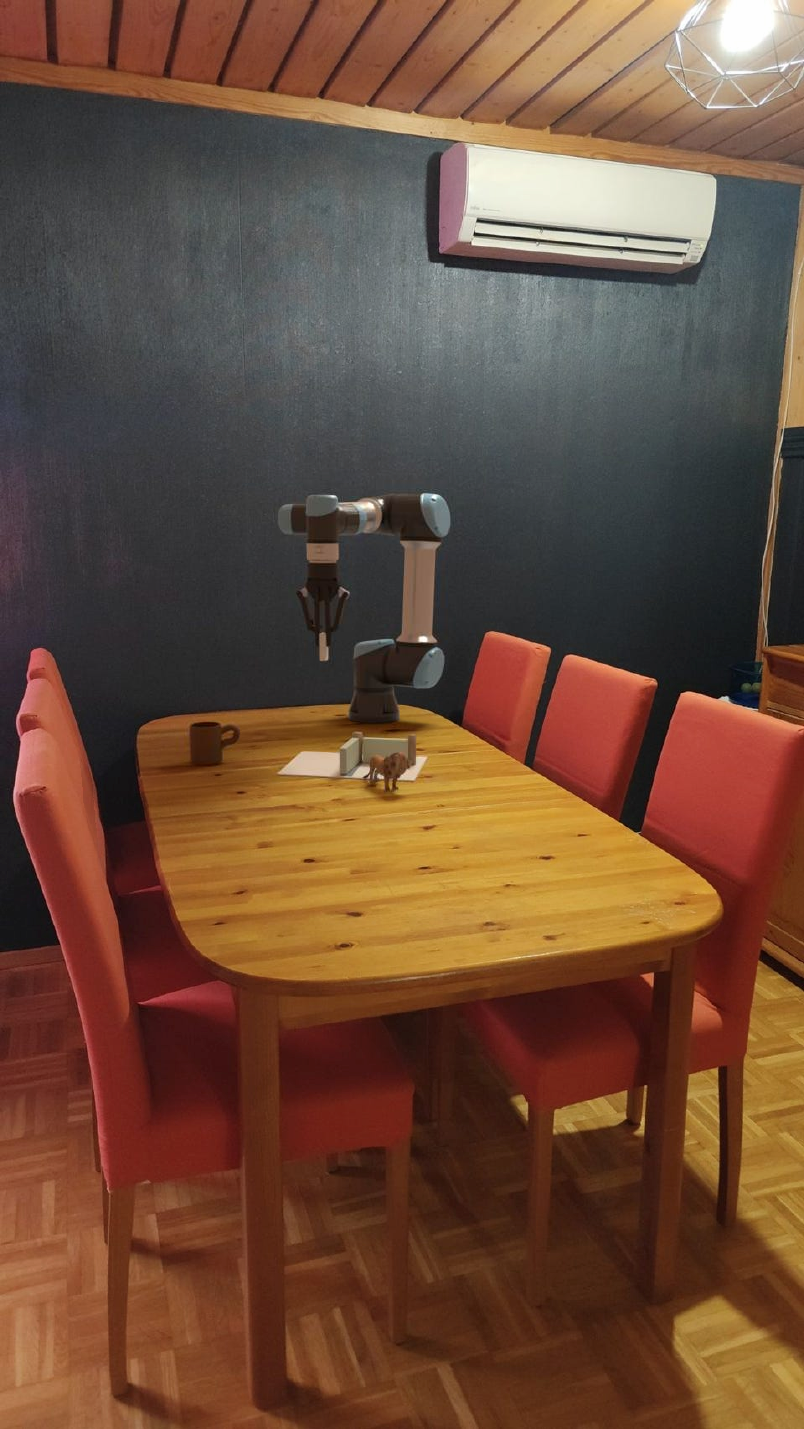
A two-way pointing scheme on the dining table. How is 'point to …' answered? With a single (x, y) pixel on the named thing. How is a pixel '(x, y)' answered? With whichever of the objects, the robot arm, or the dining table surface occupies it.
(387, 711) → the robot arm
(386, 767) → the lion figurine
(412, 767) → the card
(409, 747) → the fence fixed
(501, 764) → the dining table surface
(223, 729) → the mug
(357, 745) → the fence panel
